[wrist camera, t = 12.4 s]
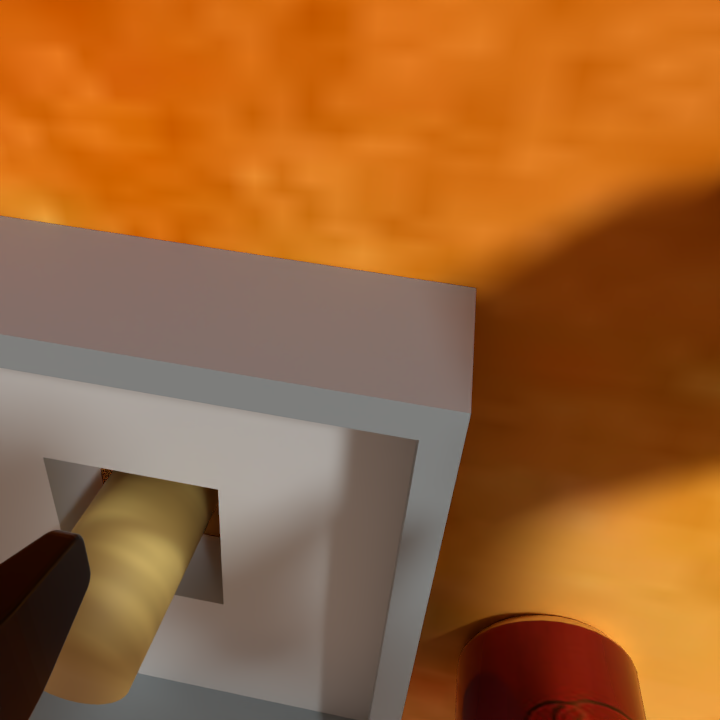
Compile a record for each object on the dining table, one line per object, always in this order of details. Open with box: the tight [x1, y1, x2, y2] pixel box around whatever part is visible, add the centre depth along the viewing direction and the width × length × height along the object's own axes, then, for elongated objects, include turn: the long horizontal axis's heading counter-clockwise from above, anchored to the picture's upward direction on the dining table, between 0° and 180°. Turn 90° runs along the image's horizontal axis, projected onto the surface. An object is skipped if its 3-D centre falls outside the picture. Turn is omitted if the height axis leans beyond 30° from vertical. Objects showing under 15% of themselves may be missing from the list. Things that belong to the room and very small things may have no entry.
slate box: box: [0, 216, 476, 720], centre depth 23 cm, size 20×20×6 cm
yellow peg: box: [44, 470, 219, 705], centre depth 23 cm, size 4×4×8 cm
